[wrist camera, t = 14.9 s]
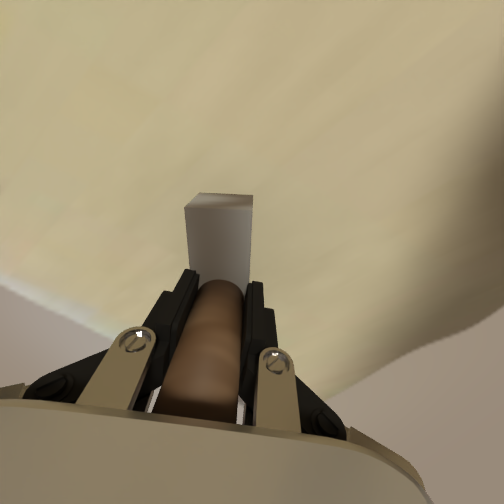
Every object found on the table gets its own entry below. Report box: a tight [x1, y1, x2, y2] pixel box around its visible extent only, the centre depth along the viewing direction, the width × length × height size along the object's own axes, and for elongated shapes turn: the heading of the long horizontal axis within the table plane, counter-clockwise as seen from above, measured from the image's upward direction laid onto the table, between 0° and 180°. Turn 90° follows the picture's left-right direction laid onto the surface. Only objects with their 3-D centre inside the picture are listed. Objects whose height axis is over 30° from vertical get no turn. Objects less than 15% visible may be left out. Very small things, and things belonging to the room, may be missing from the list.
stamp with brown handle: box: [151, 193, 253, 424], centre depth 11 cm, size 3×10×9 cm, turn 178°
